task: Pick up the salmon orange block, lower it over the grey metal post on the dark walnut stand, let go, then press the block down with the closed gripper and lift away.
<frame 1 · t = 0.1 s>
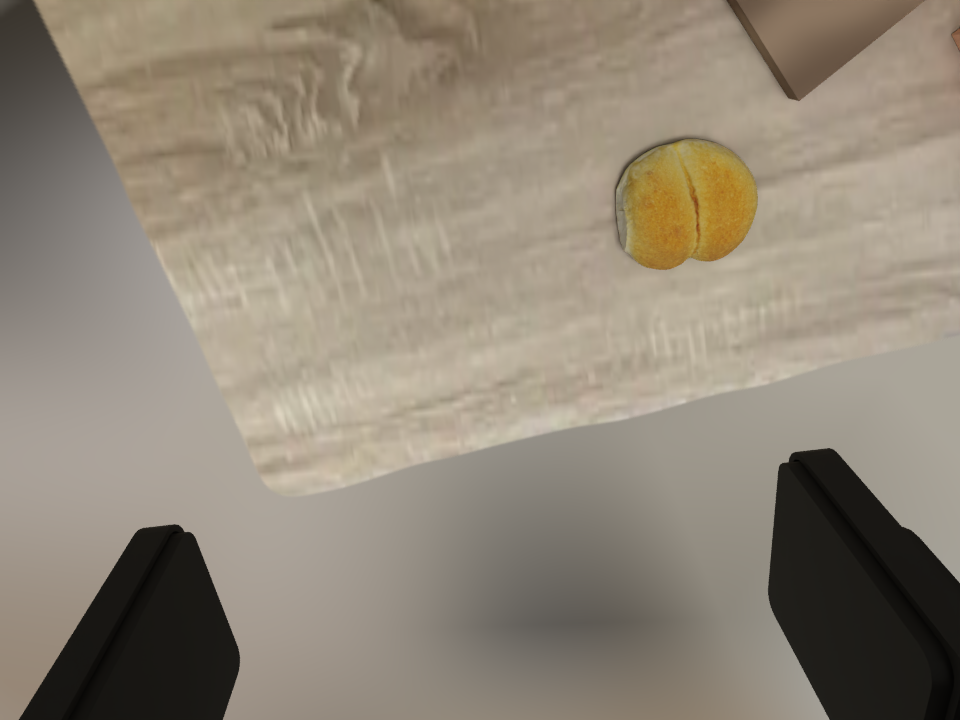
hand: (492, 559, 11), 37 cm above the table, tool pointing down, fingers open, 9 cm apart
bread roll: (676, 202, 47), on the table
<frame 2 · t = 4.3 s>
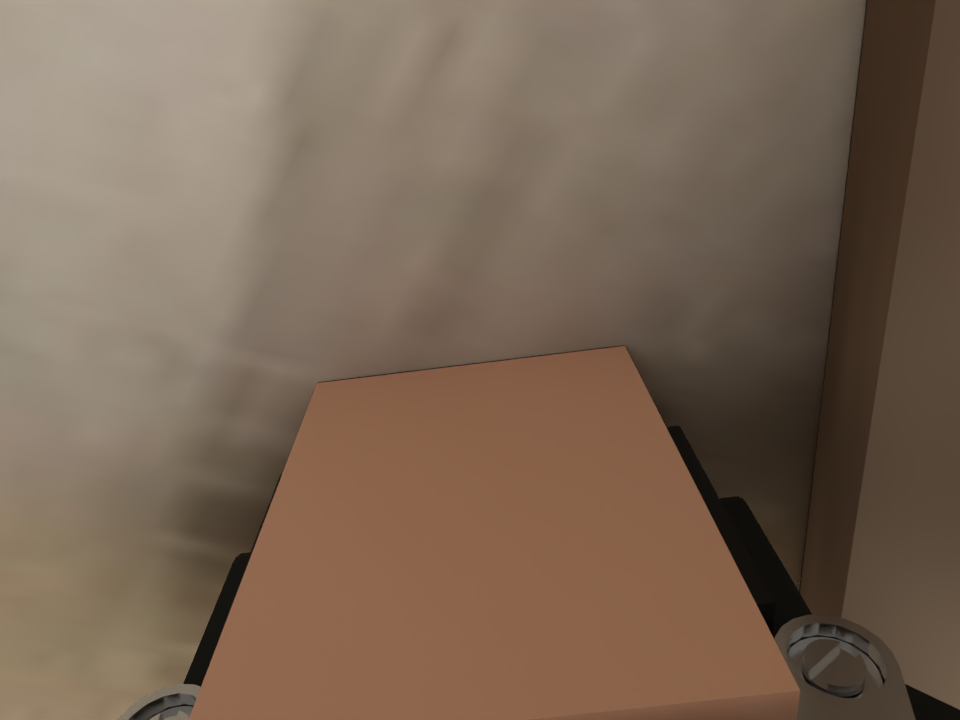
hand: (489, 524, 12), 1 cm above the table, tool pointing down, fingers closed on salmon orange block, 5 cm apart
salmon orange block: (487, 489, 13), on the table, touching gripper
when the fingers open (4 cm above the table, at t = 9.9 s): salmon orange block drops 1 cm, resting on post stand.
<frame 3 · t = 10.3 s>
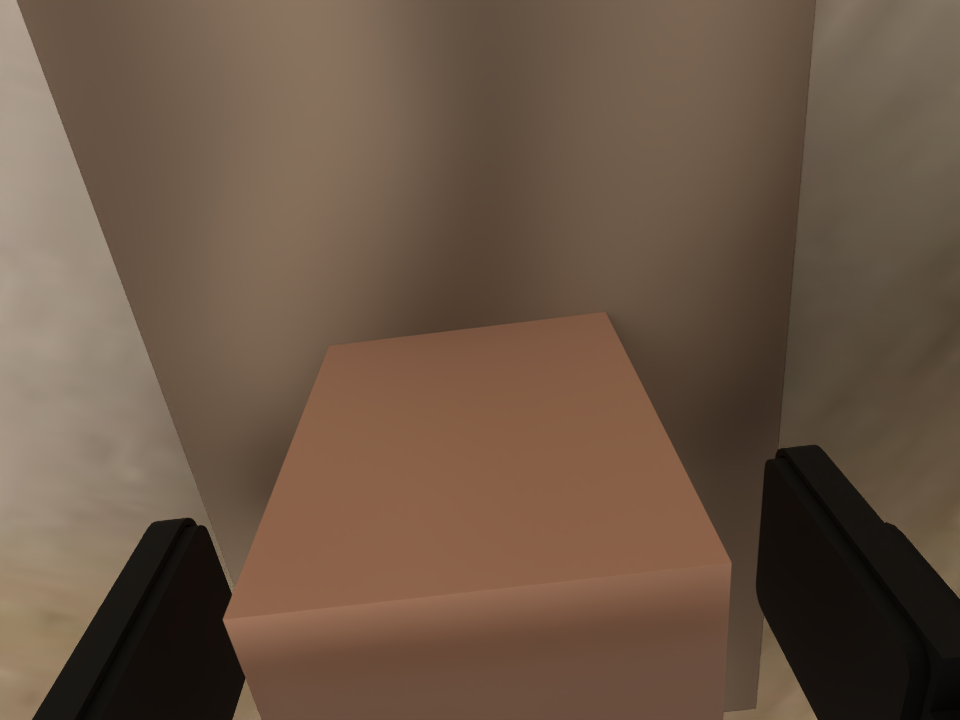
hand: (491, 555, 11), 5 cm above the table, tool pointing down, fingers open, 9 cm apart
post stand: (482, 408, 15), on the table
salmon orange block: (482, 445, 14), point 1 cm above the table, touching post stand
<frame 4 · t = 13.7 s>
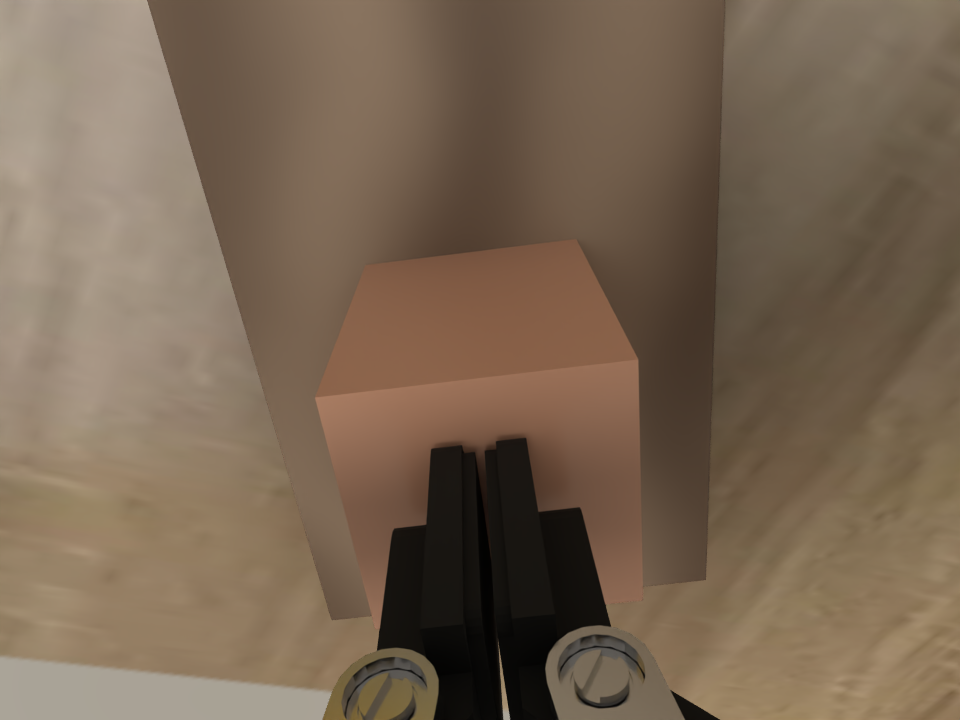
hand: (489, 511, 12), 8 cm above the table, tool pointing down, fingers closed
post stand: (482, 324, 19), on the table
salmon orange block: (482, 347, 18), point 1 cm above the table, touching gripper, post stand
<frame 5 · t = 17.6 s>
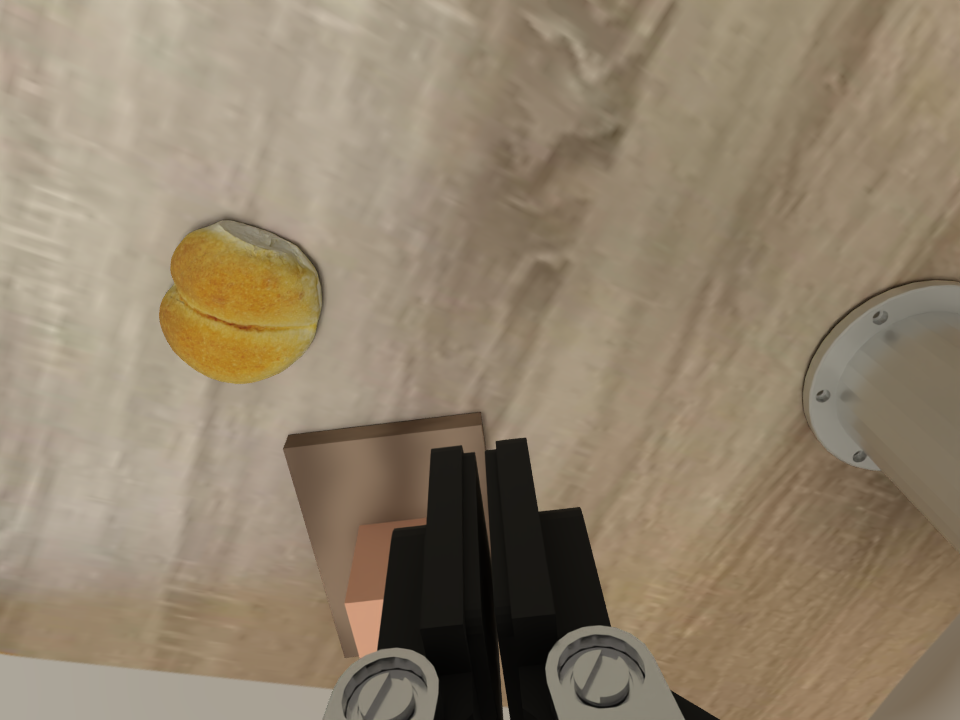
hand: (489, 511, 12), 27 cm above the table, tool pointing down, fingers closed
bread roll: (247, 294, 39), on the table
post stand: (408, 536, 47), on the table
salmon orange block: (406, 552, 46), point 1 cm above the table, touching post stand
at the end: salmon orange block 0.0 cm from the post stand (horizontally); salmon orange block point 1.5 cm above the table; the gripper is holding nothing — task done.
